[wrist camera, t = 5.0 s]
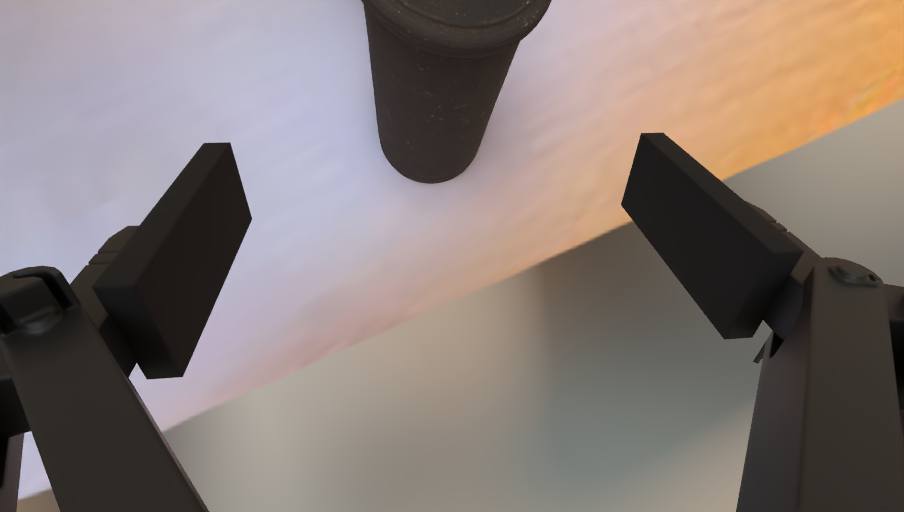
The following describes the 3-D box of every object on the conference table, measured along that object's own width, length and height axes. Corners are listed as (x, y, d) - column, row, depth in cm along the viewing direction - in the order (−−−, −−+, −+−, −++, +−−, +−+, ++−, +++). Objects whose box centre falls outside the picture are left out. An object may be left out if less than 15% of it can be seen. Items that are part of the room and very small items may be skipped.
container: (471, 73, 38) (540, -193, 18) (494, 178, 37) (594, 16, 17) (366, 88, 37) (318, -177, 17) (387, 196, 36) (360, 47, 16)
